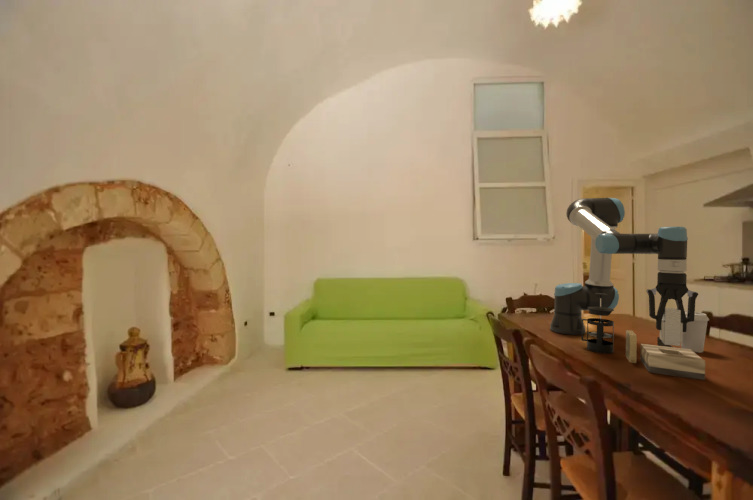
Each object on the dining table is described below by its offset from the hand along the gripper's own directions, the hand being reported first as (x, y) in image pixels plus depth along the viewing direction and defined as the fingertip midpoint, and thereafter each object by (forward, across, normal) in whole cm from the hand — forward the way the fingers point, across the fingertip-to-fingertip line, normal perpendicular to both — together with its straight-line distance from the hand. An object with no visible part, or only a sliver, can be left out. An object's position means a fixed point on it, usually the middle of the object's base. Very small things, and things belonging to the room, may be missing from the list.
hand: (670, 340), depth 117 cm
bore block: (+10, 0, 0) cm, 10 cm away
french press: (+10, -20, +14) cm, 26 cm away
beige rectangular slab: (+10, -10, +6) cm, 15 cm away
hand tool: (+10, +3, +23) cm, 26 cm away
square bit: (+1, 0, 0) cm, 1 cm away
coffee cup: (+10, +14, +32) cm, 36 cm away
